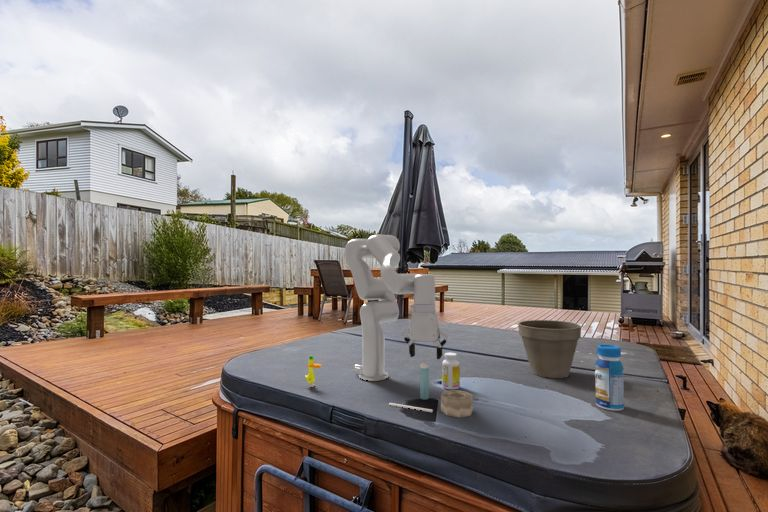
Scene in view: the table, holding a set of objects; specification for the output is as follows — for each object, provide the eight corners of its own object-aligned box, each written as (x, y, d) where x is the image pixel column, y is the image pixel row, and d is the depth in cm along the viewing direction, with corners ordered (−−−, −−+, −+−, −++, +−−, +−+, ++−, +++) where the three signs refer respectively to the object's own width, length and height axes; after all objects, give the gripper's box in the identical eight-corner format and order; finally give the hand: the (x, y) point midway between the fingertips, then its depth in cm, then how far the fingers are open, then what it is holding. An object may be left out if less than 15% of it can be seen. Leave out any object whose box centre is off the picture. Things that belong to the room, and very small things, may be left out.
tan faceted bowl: (438, 414, 117) (438, 398, 117) (445, 403, 125) (445, 388, 126) (469, 419, 113) (468, 402, 113) (474, 407, 122) (474, 392, 122)
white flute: (388, 405, 124) (388, 403, 124) (389, 404, 125) (389, 402, 125) (432, 412, 118) (432, 410, 118) (432, 411, 119) (432, 409, 119)
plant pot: (517, 378, 154) (516, 326, 154) (519, 363, 177) (519, 318, 177) (585, 385, 144) (584, 330, 145) (578, 369, 167) (577, 321, 168)
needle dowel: (419, 398, 130) (419, 364, 130) (421, 396, 133) (421, 362, 133) (427, 400, 129) (427, 365, 129) (429, 397, 132) (429, 363, 132)
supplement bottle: (460, 385, 144) (460, 352, 144) (458, 391, 138) (458, 356, 138) (443, 383, 146) (443, 351, 147) (440, 389, 140) (440, 355, 140)
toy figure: (322, 386, 143) (322, 354, 144) (319, 389, 140) (319, 357, 140) (306, 385, 145) (306, 354, 145) (302, 388, 141) (302, 356, 141)
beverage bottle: (625, 413, 117) (624, 350, 118) (594, 408, 122) (593, 347, 122) (624, 405, 124) (623, 345, 125) (595, 400, 129) (594, 342, 129)
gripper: (398, 309, 131) (399, 357, 131) (446, 310, 125) (447, 361, 124) (405, 307, 138) (406, 353, 137) (451, 308, 131) (452, 357, 131)
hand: (425, 357), depth 131 cm, fingers open, 9 cm apart
